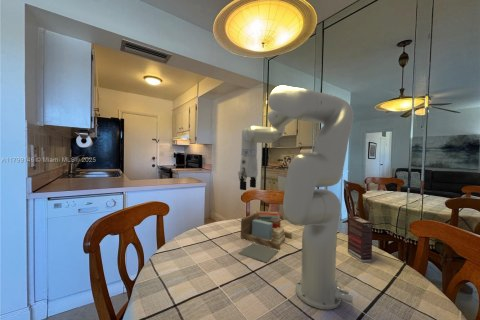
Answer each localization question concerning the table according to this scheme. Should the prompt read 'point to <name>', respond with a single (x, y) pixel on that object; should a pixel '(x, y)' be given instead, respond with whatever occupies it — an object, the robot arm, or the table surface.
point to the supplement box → (360, 238)
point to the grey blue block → (262, 229)
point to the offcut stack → (278, 235)
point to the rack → (247, 230)
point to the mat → (259, 252)
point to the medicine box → (270, 218)
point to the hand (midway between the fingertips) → (248, 188)
